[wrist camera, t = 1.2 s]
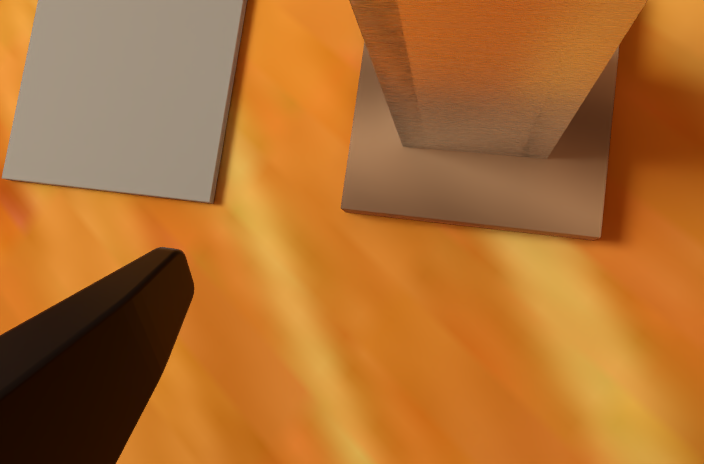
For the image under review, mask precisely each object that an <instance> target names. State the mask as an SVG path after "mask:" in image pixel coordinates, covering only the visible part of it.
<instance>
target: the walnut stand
mask: <svg viewBox="0 0 704 464" xmlns="http://www.w3.org/2000/svg"><path fill="white" fill-rule="evenodd" d="M618 54H619V46H618V48H617V49H616V51H615V52H614V54H613V56H612V57H611V59H610V60H609V62H608V63H607V65H606V67H605V68H604V70H603V71H602V73H601V74H600V76H599V78H598V79H597V81H596V82H595V84H594V85H593V87H592V89H591V90H590V92H589V93H588V95H587V96H586V98H585V100H584V101H583V103H582V104H581V106H580V107H579V109H578V111H577V112H576V114H575V115H574V117H573V118H572V120H571V122H570V123H569V125H568V126H567V128H566V129H565V131H564V133H563V134H562V136H561V137H560V139H559V141H558V142H557V144H556V145H555V147H554V148H553V150H552V152H551V153H550V155H549V156H548V158H547V159H541V158H530V157H518V156H506V155H495V154H483V153H471V152H459V151H448V150H436V149H424V148H413V147H403V146H402V143H401V140H400V138H399V135H398V132H397V129H396V127H395V124H394V121H393V119H392V116H391V113H390V110H389V108H388V105H387V102H386V99H385V97H384V94H383V91H382V88H381V86H380V83H379V80H378V77H377V75H376V72H375V69H374V66H373V64H372V61H371V58H370V55H369V53H368V50H367V47H366V44H365V43H364V50H363V57H362V64H361V71H360V78H359V85H358V92H357V99H356V106H355V113H354V119H353V126H352V133H351V140H350V147H349V154H348V161H347V168H346V175H345V182H344V189H343V196H342V203H341V209H342V210H344V211H345V212H349V213H358V214H366V215H375V216H384V217H393V218H402V219H410V220H419V221H428V222H437V223H446V224H455V225H463V226H472V227H481V228H490V229H499V230H507V231H516V232H525V233H534V234H543V235H551V236H560V237H569V238H578V239H587V240H596V239H598V238H601V229H602V219H603V209H604V198H605V188H606V178H607V167H608V157H609V147H610V136H611V126H612V116H613V106H614V95H615V85H616V75H617V64H618Z"/></svg>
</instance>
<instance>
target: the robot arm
mask: <svg viewBox="0 0 704 464" xmlns="http://www.w3.org/2000/svg"><path fill="white" fill-rule="evenodd" d="M193 294H194V282H193V279H192V276H191V272H190V269H189V266H188V263H187V259H186V256H185V254H184V253H183V252H182V251H181V250H179V249H172V248H165V247H159V248H156V249H154V250H152V251H151V252H149V253H147V254H145V255H143V256H142V257H140V258H138V259H136V260H134V261H133V262H131V263H129V264H127V265H126V266H124V267H122V268H120V269H118V270H117V271H115V272H113V273H111V274H109V275H108V276H106V277H104V278H102V279H100V280H99V281H97V282H95V283H93V284H91V285H90V286H88V287H86V288H84V289H83V290H81V291H79V292H77V293H75V294H74V295H72V296H70V297H68V298H66V299H65V300H63V301H61V302H59V303H57V304H56V305H54V306H52V307H50V308H48V309H47V310H45V311H43V312H41V313H39V314H38V315H36V316H34V317H32V318H30V319H29V320H27V321H25V322H23V323H21V324H20V325H18V326H16V327H14V328H13V329H11V330H9V331H7V332H5V333H4V334H2V335H0V464H116V462H117V460H118V458H119V457H120V455H121V453H122V451H123V449H124V447H125V445H126V443H127V441H128V439H129V437H130V435H131V434H132V432H133V430H134V428H135V426H136V424H137V422H138V420H139V418H140V416H141V414H142V412H143V411H144V409H145V407H146V405H147V403H148V401H149V399H150V397H151V395H152V393H153V391H154V389H155V388H156V386H157V384H158V382H159V380H160V377H161V375H162V373H163V371H164V369H165V367H166V364H167V362H168V359H169V357H170V354H171V352H172V349H173V347H174V344H175V342H176V339H177V336H178V334H179V331H180V329H181V326H182V324H183V321H184V319H185V316H186V313H187V311H188V308H189V306H190V303H191V301H192V298H193Z"/></svg>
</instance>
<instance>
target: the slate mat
mask: <svg viewBox="0 0 704 464" xmlns="http://www.w3.org/2000/svg"><path fill="white" fill-rule="evenodd" d="M246 4H247V0H38V4H37V9H36V14H35V18H34V23H33V28H32V33H31V38H30V43H29V48H28V53H27V57H26V62H25V67H24V72H23V77H22V82H21V87H20V92H19V96H18V101H17V106H16V111H15V116H14V121H13V126H12V131H11V135H10V140H9V145H8V150H7V155H6V160H5V165H4V170H3V174H2V178H3V179H7V180H14V181H23V182H31V183H40V184H48V185H57V186H66V187H74V188H83V189H91V190H100V191H109V192H117V193H126V194H134V195H143V196H152V197H160V198H169V199H178V200H186V201H195V202H203V203H212V204H213V203H214V197H215V191H216V185H217V179H218V173H219V167H220V161H221V155H222V149H223V143H224V137H225V131H226V125H227V119H228V113H229V107H230V101H231V95H232V88H233V82H234V76H235V70H236V64H237V58H238V52H239V46H240V40H241V34H242V28H243V22H244V16H245V10H246Z"/></svg>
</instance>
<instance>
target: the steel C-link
mask: <svg viewBox="0 0 704 464" xmlns="http://www.w3.org/2000/svg"><path fill="white" fill-rule="evenodd" d="M349 1H350V3H351V6H352V9H353V12H354V14H355V17H356V20H357V23H358V25H359V28H360V31H361V34H362V36H363V39H364V42H365V44H366V47H367V50H368V53H369V55H370V58H371V61H372V64H373V66H374V69H375V72H376V75H377V77H378V80H379V83H380V86H381V88H382V91H383V94H384V97H385V99H386V102H387V105H388V108H389V110H390V113H391V116H392V119H393V121H394V124H395V127H396V129H397V132H398V135H399V138H400V140H401V143H402V146H403V147H413V148H424V149H436V150H448V151H459V152H471V153H483V154H495V155H506V156H518V157H530V158H541V159H547V158H548V156H549V155H550V153H551V152H552V150H553V148H554V147H555V145H556V144H557V142H558V141H559V139H560V137H561V136H562V134H563V133H564V131H565V129H566V128H567V126H568V125H569V123H570V122H571V120H572V118H573V117H574V115H575V114H576V112H577V111H578V109H579V107H580V106H581V104H582V103H583V101H584V100H585V98H586V96H587V95H588V93H589V92H590V90H591V89H592V87H593V85H594V84H595V82H596V81H597V79H598V78H599V76H600V74H601V73H602V71H603V70H604V68H605V67H606V65H607V63H608V62H609V60H610V59H611V57H612V56H613V54H614V52H615V51H616V49H617V48H618V46H619V44H620V43H621V41H622V40H623V38H624V37H625V35H626V33H627V32H628V30H629V29H630V27H631V26H632V24H633V22H634V21H635V19H636V18H637V16H638V15H639V13H640V11H641V10H642V8H643V7H644V5H645V4H646V2H647V0H349Z"/></svg>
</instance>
